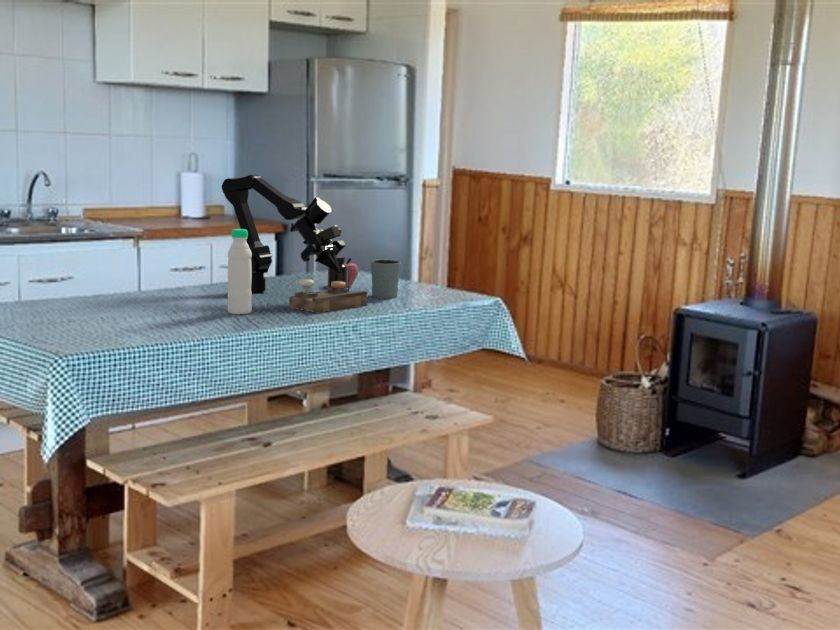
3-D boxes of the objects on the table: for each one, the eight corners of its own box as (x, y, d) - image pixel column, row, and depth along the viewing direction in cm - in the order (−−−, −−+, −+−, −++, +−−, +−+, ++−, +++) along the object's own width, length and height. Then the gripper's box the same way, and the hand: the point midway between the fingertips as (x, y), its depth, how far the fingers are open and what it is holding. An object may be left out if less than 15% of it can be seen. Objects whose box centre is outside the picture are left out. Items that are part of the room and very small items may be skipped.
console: (289, 307, 305) (289, 292, 304) (339, 300, 322) (340, 285, 321) (316, 313, 297) (316, 298, 296) (366, 305, 314) (367, 290, 313)
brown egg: (330, 301, 314) (331, 283, 313) (330, 298, 318) (331, 281, 317) (345, 301, 314) (345, 283, 313) (345, 299, 319) (345, 281, 318)
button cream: (298, 299, 303) (298, 281, 302) (299, 297, 308) (299, 279, 306) (313, 300, 303) (313, 281, 302) (313, 297, 308) (314, 279, 307)
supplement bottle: (348, 290, 341) (349, 256, 339) (345, 293, 335) (346, 258, 333) (329, 289, 342) (330, 255, 340) (325, 292, 335) (326, 257, 333)
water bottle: (231, 315, 289) (231, 230, 285) (224, 311, 295) (224, 228, 291) (254, 314, 292) (255, 230, 288) (247, 310, 299) (247, 228, 294)
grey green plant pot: (394, 293, 338) (395, 259, 336) (403, 298, 329) (404, 263, 327) (366, 294, 335) (367, 259, 333) (374, 299, 326) (375, 263, 323)
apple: (333, 284, 355) (334, 256, 353) (357, 284, 356) (358, 257, 354) (334, 288, 345) (334, 260, 343) (358, 288, 346) (359, 260, 344)
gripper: (308, 218, 306) (337, 257, 303) (341, 215, 322) (369, 251, 319) (287, 241, 311) (316, 279, 308) (321, 237, 327) (348, 273, 324)
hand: (338, 270), depth 314 cm, fingers closed
